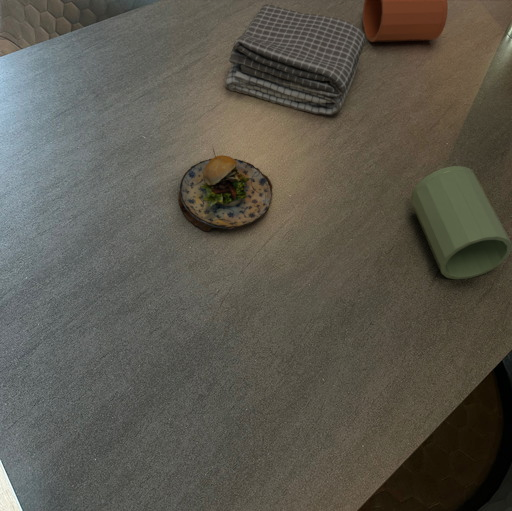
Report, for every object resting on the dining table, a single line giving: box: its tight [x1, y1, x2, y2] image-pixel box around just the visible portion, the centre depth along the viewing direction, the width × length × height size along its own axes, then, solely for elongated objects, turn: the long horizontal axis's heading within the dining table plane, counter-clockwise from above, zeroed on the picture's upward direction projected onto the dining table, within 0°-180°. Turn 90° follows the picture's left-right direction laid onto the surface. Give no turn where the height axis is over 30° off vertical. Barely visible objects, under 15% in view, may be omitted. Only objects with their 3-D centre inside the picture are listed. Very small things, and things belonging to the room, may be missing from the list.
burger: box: [178, 145, 273, 232], centre depth 77 cm, size 12×12×8 cm
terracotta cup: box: [362, 0, 449, 43], centre depth 102 cm, size 8×8×11 cm
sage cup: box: [410, 165, 512, 280], centre depth 76 cm, size 8×8×11 cm
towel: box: [224, 3, 368, 116], centre depth 93 cm, size 15×18×8 cm
